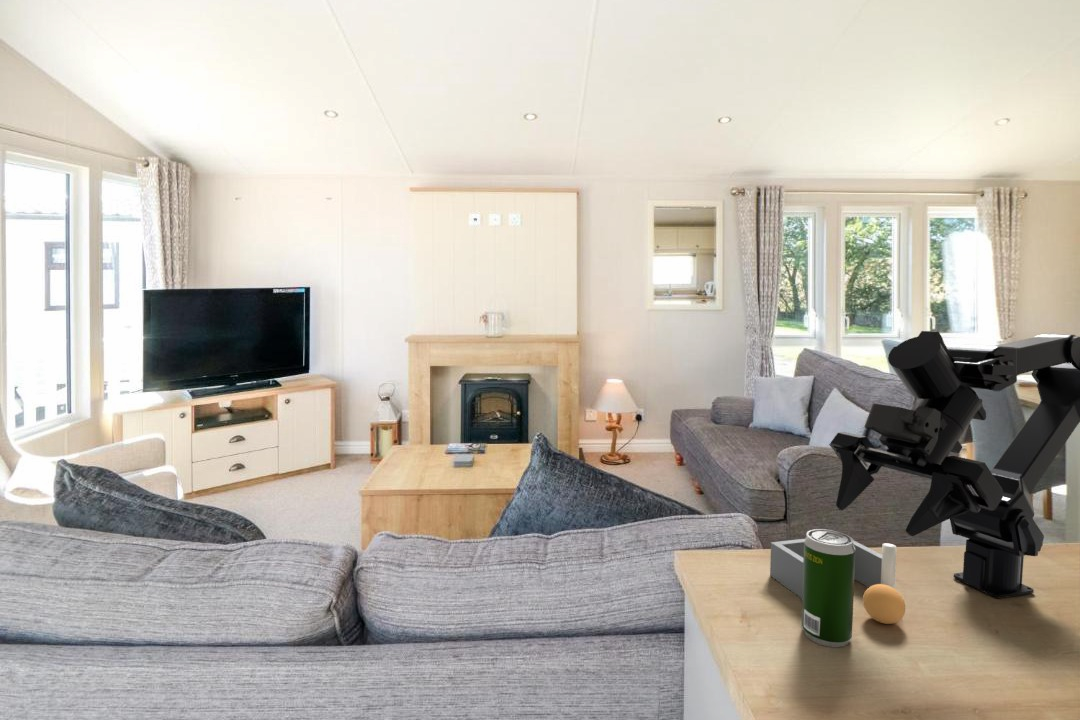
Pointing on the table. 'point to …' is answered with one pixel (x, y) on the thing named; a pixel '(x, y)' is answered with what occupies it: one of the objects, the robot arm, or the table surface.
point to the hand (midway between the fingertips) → (871, 520)
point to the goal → (867, 570)
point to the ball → (884, 603)
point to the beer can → (828, 587)
